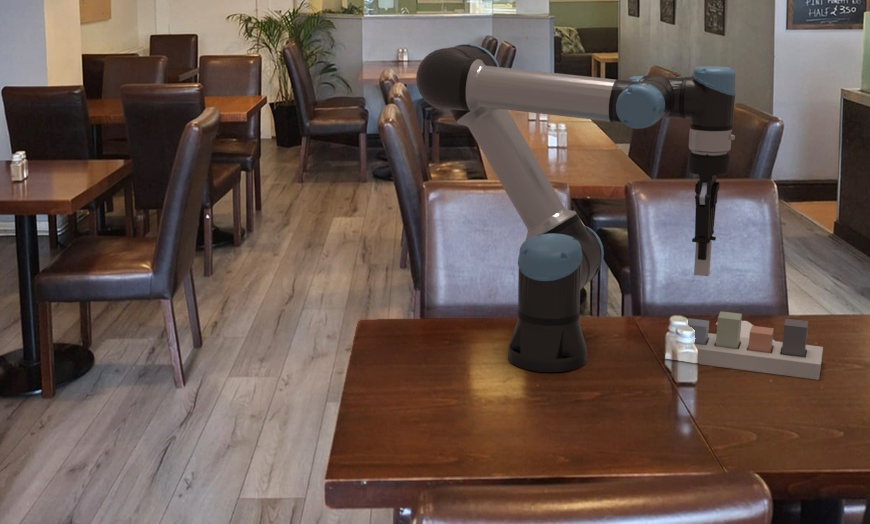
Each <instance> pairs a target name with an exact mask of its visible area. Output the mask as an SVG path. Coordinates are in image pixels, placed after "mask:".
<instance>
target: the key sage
mask: <svg viewBox="0 0 870 524" xmlns="http://www.w3.org/2000/svg"><path fill="white" fill-rule="evenodd" d="M742 318H743V313H739V312H738V313H737V312H731V311H730V312H729V311H720V312H719V314H718V316H717V322H716V323H717V326H716V334H717V335H716V347H724V348H732V349H738V347H739V344H740V333H741V321H743V320H742Z"/></svg>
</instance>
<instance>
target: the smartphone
mask: <svg viewBox="0 0 870 524" xmlns="http://www.w3.org/2000/svg"><path fill="white" fill-rule="evenodd" d="M716 325H717V322H716V323H715V326H716ZM752 326H754V324H752V323H751V322H749V321H747V320H741V333H740V337H745V338H749V335H750V330H751V327H752ZM773 341H776V340H775V339H773Z"/></svg>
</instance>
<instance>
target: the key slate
mask: <svg viewBox="0 0 870 524" xmlns="http://www.w3.org/2000/svg"><path fill="white" fill-rule="evenodd" d="M687 320H688V325H689V326H690V327H692V328H693V329H694V330H695V338H696V339H695V344H700V345H707V343H708V333H709V330H710V320H707V319H705V320H704V319H697V318H690V317H689V318H687Z"/></svg>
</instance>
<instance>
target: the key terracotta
mask: <svg viewBox="0 0 870 524" xmlns="http://www.w3.org/2000/svg"><path fill="white" fill-rule="evenodd" d="M774 329H775V328H774V327H766V326H757V325H753V326H752V327H751V330H750V335H749V347H748V351H757V352H765V353H772V343H773V340H774V331H775V330H774Z"/></svg>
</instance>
